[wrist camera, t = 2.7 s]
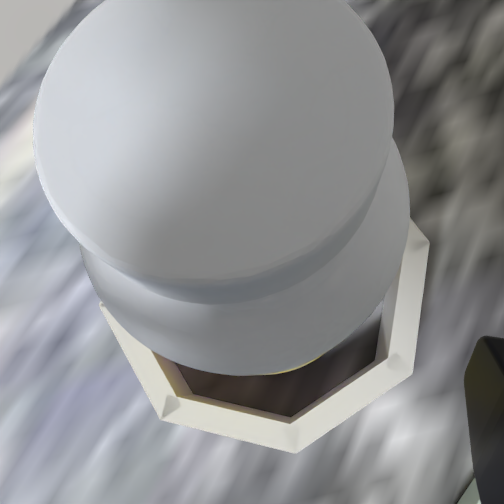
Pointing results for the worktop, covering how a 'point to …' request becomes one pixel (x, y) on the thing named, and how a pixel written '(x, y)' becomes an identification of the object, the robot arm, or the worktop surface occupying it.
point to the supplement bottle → (227, 174)
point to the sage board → (470, 495)
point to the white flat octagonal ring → (320, 411)
